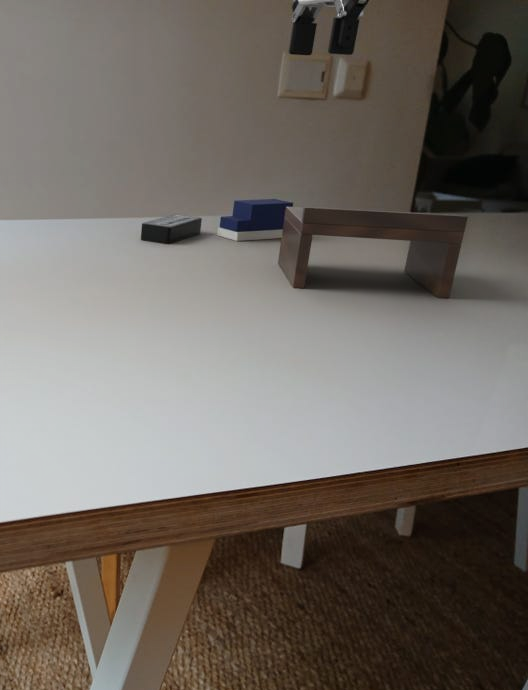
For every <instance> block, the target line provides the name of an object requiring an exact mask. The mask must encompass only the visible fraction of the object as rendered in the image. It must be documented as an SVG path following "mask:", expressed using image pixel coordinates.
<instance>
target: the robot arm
mask: <svg viewBox="0 0 528 690" xmlns="http://www.w3.org/2000/svg"><path fill="white" fill-rule="evenodd" d="M369 1H370V0H292V5H291V10H292V16H291V22H292V28H291V34H290V35H291V36H290V40H289V47H288V54H289V55H294V56H311V55H312V54H313V49H314V43H315V39H316V38H315V37H316V33H317V32H316V31H317V25H318V23H317V22H315V20H317V19H316V18H317V17H318V15H319V13H320V11H321V10H322V8H323V6H325V7H327V8H335V10H336V14H337V17H333V19H332V26H331V31H330V35H329V41H328V48H327V52H328V54H329V55H344V56H351V55H353V54H354V52H355V46H356V41H357V35H358V32H359V31H358V30H359V25H360V20H361V19H362V18H363V17H364V14H365V10H364V9H365V8H366V6H367V5H368V3H369Z"/></svg>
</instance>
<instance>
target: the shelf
mask: <svg viewBox="0 0 528 690" xmlns="http://www.w3.org/2000/svg"><path fill="white" fill-rule="evenodd" d="M468 218H469V217H468V215H464V214H450V213H449V214H448V213H429V212H411V211H410V212H409V211H391V210H376V209H355V208H337V207H317V206H303V207H302V206H301V207H300V206H293V207H286V210H285V217H284V224H283V231H282V238H280V246H279V253H278V259H277V265H278V266H279V268H280V269H281V270H282V272H283V274H284V275H285V278H286V279H287V280H288V282H289V283H290V285H291V287H292V288H293V289H305V286H306V280H307V274H308V267H309V261H310V255H311V248H312V243H313V242H312V241H313V236H322V237H323V236H326V237H342V238H344V237H345V238H355V239H358V238H359V239H372V240H373V239H374V240H388V241H389V240H390V241H391V240H392V241H405V242H406V241H408V242H409V246H408V251H407V255H406V260H405V265H404V270H403V272H404V273H405V274H406V275H408V276H409V277H410V278H411V279H413V280H414V281H415V282H417V283H418V284H419V285H421V286H422V287H423V288H425V289H426V290H427V291H428V292H430V293H431V294H432V295H434V296H435V297H436V298H440V299H450V298H451V297H450V296H451V292H452V287H453V284H454V280H455V275H456V270H457V266H458V262H459V257H460V253H461V248H462V244H463V239H464V235H465V232H466V227H467V222H468Z"/></svg>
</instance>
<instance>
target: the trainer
mask: <svg viewBox="0 0 528 690" xmlns="http://www.w3.org/2000/svg"><path fill="white" fill-rule="evenodd" d="M286 207H294V202H291V201H286V200H281V199H277V198H265V199H264V198H263V199H237V200H234V201H233V208H232V215H225V216H220V221H219V226H218V227H217V233H216V235H217V236H218V237H220V238H225V239H228V240H232V241H235V242H243V241H259V240H269V239H270V240H271V239H272V240H273V239H281V238H282V231H283V224H284V217H285V210H286Z"/></svg>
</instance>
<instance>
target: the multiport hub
mask: <svg viewBox="0 0 528 690" xmlns="http://www.w3.org/2000/svg"><path fill="white" fill-rule="evenodd" d="M202 219H203V218H202V217H201V216H193V215H185V214H178V213H176V214H172V215H168V216H164V217H160V218H155V219H153V220H148V221H145V222H141V229H140V240H141V241H145V242H153V243H160V244H166V245H167V244H168V245H169V244H172V243H176V242H179V241H181V240H185V239H188V238H191V237H194V236H197V235H200V234H201V232H202V231H201V229H202V222H203V221H202Z"/></svg>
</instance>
